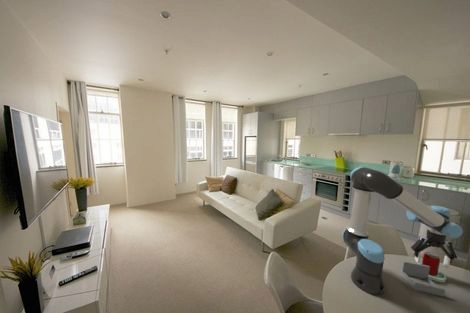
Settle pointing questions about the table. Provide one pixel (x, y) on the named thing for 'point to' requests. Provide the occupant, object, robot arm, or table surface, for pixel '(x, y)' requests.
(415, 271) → the bay
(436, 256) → the beverage can
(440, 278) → the tray
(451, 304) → the table surface
